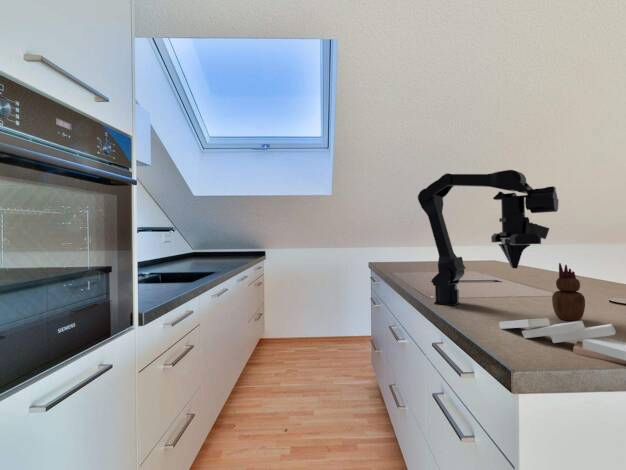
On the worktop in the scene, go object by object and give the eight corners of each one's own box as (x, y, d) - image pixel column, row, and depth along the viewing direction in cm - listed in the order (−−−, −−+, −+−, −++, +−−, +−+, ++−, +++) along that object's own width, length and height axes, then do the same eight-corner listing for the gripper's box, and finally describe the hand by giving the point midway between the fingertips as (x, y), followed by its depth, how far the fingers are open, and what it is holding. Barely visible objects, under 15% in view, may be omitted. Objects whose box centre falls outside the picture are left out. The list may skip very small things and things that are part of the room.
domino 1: (498, 321, 80) (527, 319, 71) (517, 320, 81) (548, 318, 71) (500, 328, 80) (529, 327, 70) (519, 327, 80) (550, 325, 71)
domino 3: (549, 335, 67) (610, 326, 61) (554, 332, 71) (611, 323, 65) (553, 343, 67) (614, 334, 61) (557, 340, 70) (615, 331, 64)
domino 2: (521, 331, 73) (568, 324, 64) (534, 327, 75) (581, 320, 67) (524, 338, 72) (572, 332, 64) (537, 334, 74) (585, 328, 66)
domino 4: (573, 347, 63) (647, 361, 56) (577, 340, 66) (647, 353, 59) (573, 355, 63) (647, 370, 56) (577, 348, 66) (648, 361, 59)
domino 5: (582, 339, 62) (652, 358, 53) (598, 335, 64) (668, 353, 55) (582, 348, 62) (652, 368, 53) (598, 343, 64) (668, 362, 55)
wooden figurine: (555, 321, 85) (553, 263, 85) (550, 315, 90) (549, 261, 90) (588, 323, 81) (586, 264, 81) (581, 318, 87) (580, 262, 86)
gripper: (563, 211, 83) (564, 272, 83) (528, 214, 101) (530, 264, 101) (515, 212, 85) (516, 272, 85) (490, 216, 103) (491, 265, 103)
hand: (514, 268), depth 93 cm, fingers closed
